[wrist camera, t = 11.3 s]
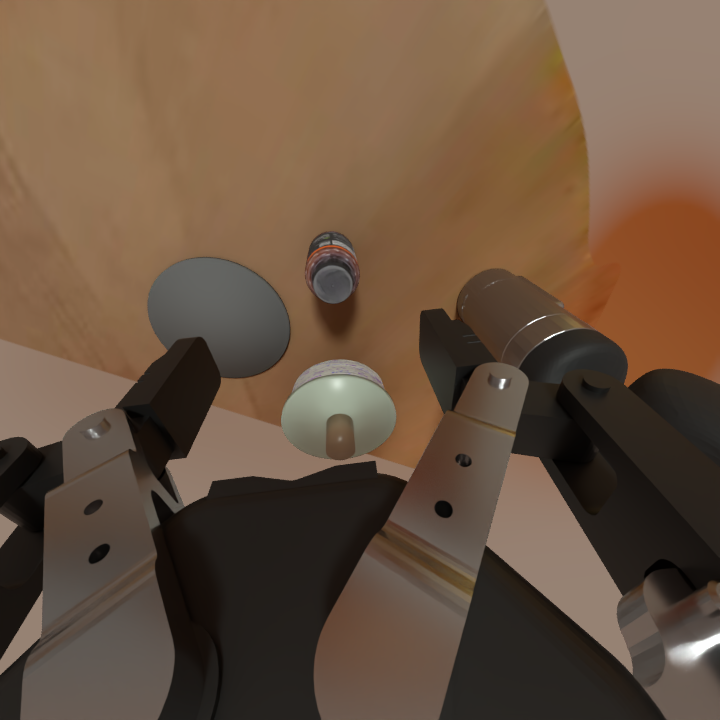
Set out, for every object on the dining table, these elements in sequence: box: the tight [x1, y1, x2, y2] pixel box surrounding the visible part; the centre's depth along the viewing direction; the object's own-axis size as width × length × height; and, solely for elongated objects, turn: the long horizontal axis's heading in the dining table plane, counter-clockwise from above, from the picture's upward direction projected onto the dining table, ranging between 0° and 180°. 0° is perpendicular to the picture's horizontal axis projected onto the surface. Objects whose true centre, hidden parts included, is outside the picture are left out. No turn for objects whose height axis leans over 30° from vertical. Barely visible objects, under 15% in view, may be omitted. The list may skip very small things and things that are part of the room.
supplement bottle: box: [305, 231, 360, 304], centre depth 34 cm, size 6×6×11 cm
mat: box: [148, 257, 290, 378], centre depth 43 cm, size 19×19×1 cm
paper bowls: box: [292, 360, 384, 392], centre depth 48 cm, size 15×15×8 cm
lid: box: [281, 374, 396, 460], centre depth 43 cm, size 17×17×6 cm
